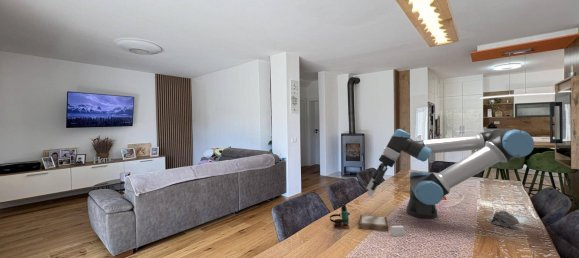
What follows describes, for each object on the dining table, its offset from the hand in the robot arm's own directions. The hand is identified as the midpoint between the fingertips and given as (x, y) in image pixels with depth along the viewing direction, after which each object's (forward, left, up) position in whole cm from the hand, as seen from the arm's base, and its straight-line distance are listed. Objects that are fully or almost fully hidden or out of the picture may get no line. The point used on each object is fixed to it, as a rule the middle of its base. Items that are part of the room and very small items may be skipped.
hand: (368, 192), depth 133 cm
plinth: (-2, +8, -14) cm, 16 cm away
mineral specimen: (-63, -7, -14) cm, 65 cm away
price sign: (-12, +17, -14) cm, 25 cm away
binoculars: (+14, +13, -14) cm, 24 cm away
